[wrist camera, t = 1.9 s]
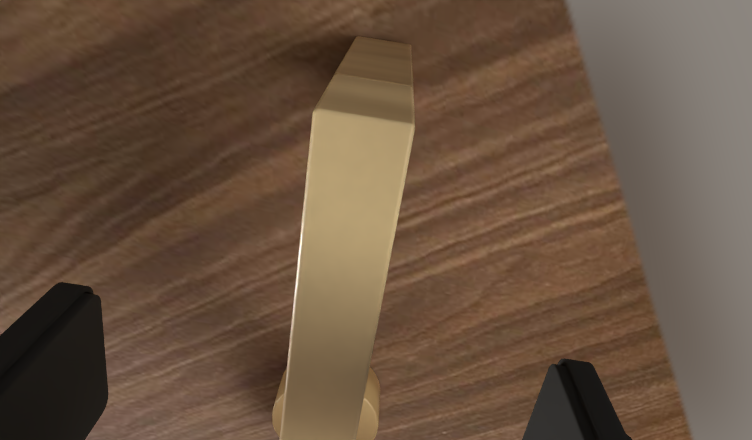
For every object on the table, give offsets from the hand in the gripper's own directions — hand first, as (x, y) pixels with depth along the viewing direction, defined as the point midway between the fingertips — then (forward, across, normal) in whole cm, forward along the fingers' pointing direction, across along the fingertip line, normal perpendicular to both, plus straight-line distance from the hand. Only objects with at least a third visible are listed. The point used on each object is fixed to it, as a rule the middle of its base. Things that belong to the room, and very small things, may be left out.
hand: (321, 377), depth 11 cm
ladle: (+10, 0, +3) cm, 10 cm away
